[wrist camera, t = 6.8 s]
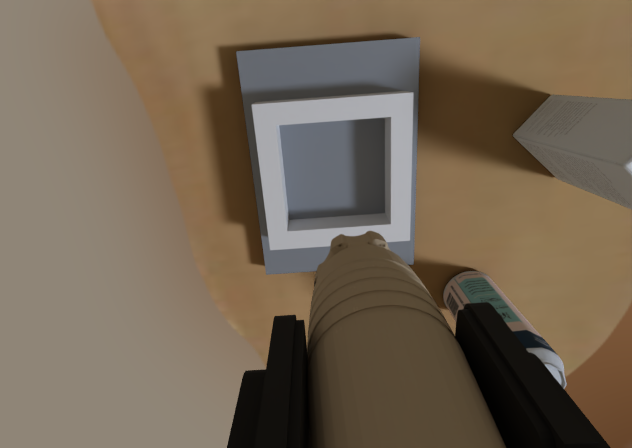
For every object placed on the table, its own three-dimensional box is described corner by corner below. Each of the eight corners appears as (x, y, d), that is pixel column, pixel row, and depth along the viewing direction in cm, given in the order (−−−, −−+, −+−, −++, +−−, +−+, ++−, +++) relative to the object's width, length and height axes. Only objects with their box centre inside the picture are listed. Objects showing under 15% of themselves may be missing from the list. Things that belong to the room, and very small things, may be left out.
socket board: (239, 52, 28) (228, 49, 24) (414, 38, 28) (430, 33, 24) (268, 266, 35) (263, 289, 31) (409, 256, 35) (421, 278, 31)
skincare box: (598, 139, 31) (759, 176, 20) (556, 179, 32) (685, 235, 21) (550, 90, 29) (696, 100, 18) (508, 134, 31) (621, 168, 20)
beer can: (460, 320, 37) (523, 425, 26) (431, 289, 36) (485, 386, 25) (501, 291, 36) (586, 388, 25) (473, 258, 35) (549, 345, 24)
